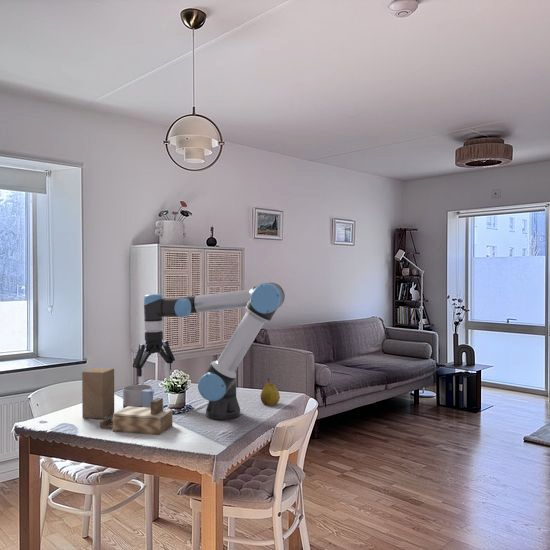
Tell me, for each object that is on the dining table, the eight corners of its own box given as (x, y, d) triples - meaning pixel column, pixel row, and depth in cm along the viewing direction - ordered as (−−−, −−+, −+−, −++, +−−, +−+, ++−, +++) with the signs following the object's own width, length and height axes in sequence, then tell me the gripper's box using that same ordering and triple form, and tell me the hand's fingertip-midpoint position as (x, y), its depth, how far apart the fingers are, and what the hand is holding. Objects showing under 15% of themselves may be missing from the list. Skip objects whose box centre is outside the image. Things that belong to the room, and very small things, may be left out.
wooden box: (172, 426, 214) (172, 411, 214) (159, 435, 202) (159, 419, 202) (128, 422, 219) (127, 408, 218) (112, 431, 207) (112, 416, 207)
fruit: (276, 407, 242) (276, 381, 242) (258, 405, 245) (258, 380, 245) (282, 403, 250) (282, 378, 250) (264, 401, 253) (264, 376, 253)
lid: (172, 411, 213) (171, 397, 213) (159, 418, 203) (159, 404, 202) (127, 408, 218) (127, 394, 218) (113, 415, 207) (113, 401, 207)
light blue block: (155, 417, 226) (155, 389, 226) (151, 419, 223) (151, 391, 223) (144, 416, 227) (144, 389, 227) (140, 418, 224) (140, 391, 224)
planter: (141, 415, 229) (141, 392, 229) (117, 413, 233) (117, 389, 233) (157, 408, 241) (157, 385, 241) (134, 405, 245) (134, 383, 245)
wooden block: (103, 419, 224) (102, 372, 223) (82, 417, 226) (81, 371, 225) (114, 412, 233) (114, 368, 233) (94, 411, 235) (94, 367, 235)
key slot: (125, 424, 216) (125, 418, 216) (116, 429, 209) (116, 423, 209) (109, 423, 218) (109, 417, 218) (100, 428, 211) (100, 422, 211)
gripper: (171, 327, 232) (172, 375, 233) (123, 333, 213) (124, 385, 213) (182, 328, 228) (183, 377, 228) (134, 334, 208) (135, 387, 209)
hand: (154, 381), depth 221 cm, fingers open, 13 cm apart
